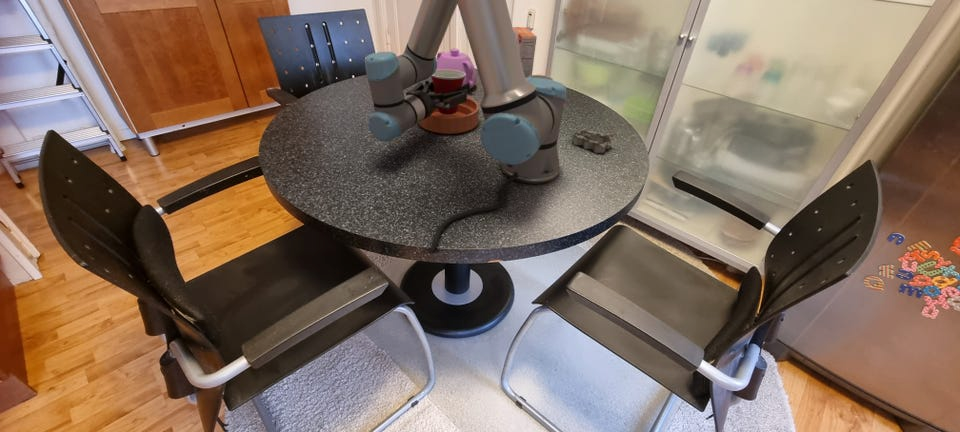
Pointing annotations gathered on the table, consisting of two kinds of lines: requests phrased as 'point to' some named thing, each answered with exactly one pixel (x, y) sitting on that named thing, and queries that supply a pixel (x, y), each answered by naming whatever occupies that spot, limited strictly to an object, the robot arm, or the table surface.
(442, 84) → the plastic cup
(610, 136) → the egg carton
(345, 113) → the table surface
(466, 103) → the bowl
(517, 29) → the cracker box
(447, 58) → the teapot
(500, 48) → the robot arm
